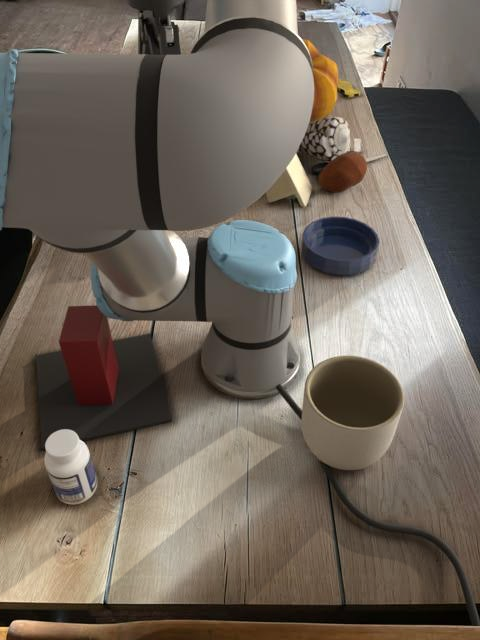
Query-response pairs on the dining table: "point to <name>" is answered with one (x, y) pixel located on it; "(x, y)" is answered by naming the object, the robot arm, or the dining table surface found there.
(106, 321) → the case
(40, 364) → the mat
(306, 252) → the bowl
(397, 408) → the planter
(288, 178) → the cream wooden brick
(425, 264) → the dining table surface
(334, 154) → the seashell
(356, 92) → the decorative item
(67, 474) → the pill bottle
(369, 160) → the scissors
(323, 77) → the decorative pumpkin
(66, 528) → the dining table surface
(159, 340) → the dining table surface
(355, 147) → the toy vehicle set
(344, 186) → the potato
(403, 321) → the dining table surface
